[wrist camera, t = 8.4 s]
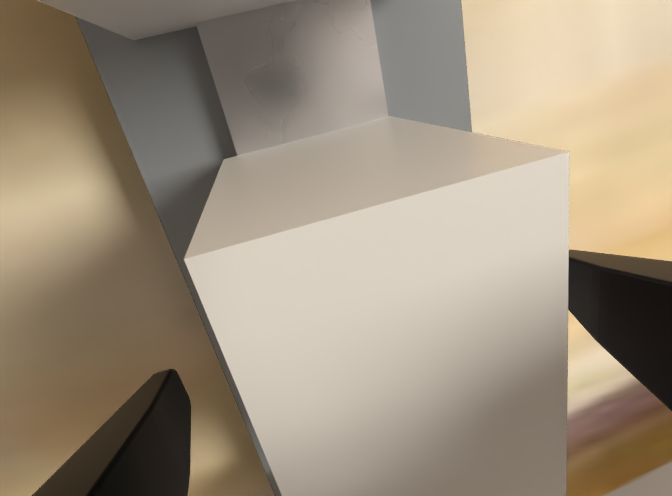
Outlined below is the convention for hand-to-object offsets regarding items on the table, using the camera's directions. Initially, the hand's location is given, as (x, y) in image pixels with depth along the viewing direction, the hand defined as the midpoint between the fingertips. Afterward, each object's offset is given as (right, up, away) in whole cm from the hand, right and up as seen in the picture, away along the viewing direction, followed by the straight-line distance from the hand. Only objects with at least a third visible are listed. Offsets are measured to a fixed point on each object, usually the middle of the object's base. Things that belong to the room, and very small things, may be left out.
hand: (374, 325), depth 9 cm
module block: (-1, +1, +3) cm, 3 cm away
